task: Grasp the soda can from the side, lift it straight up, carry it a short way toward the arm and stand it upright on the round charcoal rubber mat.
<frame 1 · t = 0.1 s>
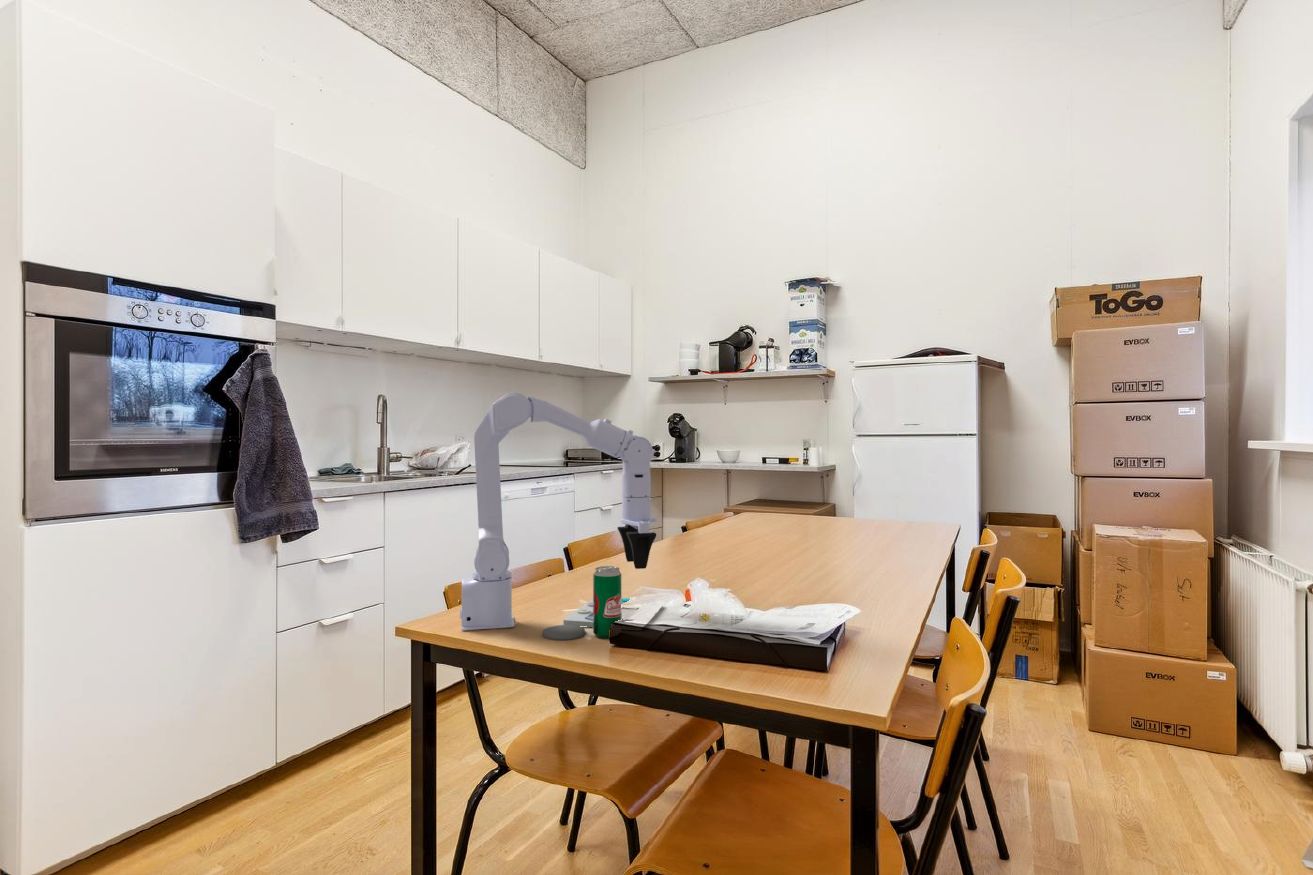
hand: (636, 564, 136), 10 cm above the table, tool pointing down, fingers open, 7 cm apart
soda can: (607, 636, 123), on the table
rubber mat: (563, 633, 124), on the table
electronic device: (615, 620, 136), on the table
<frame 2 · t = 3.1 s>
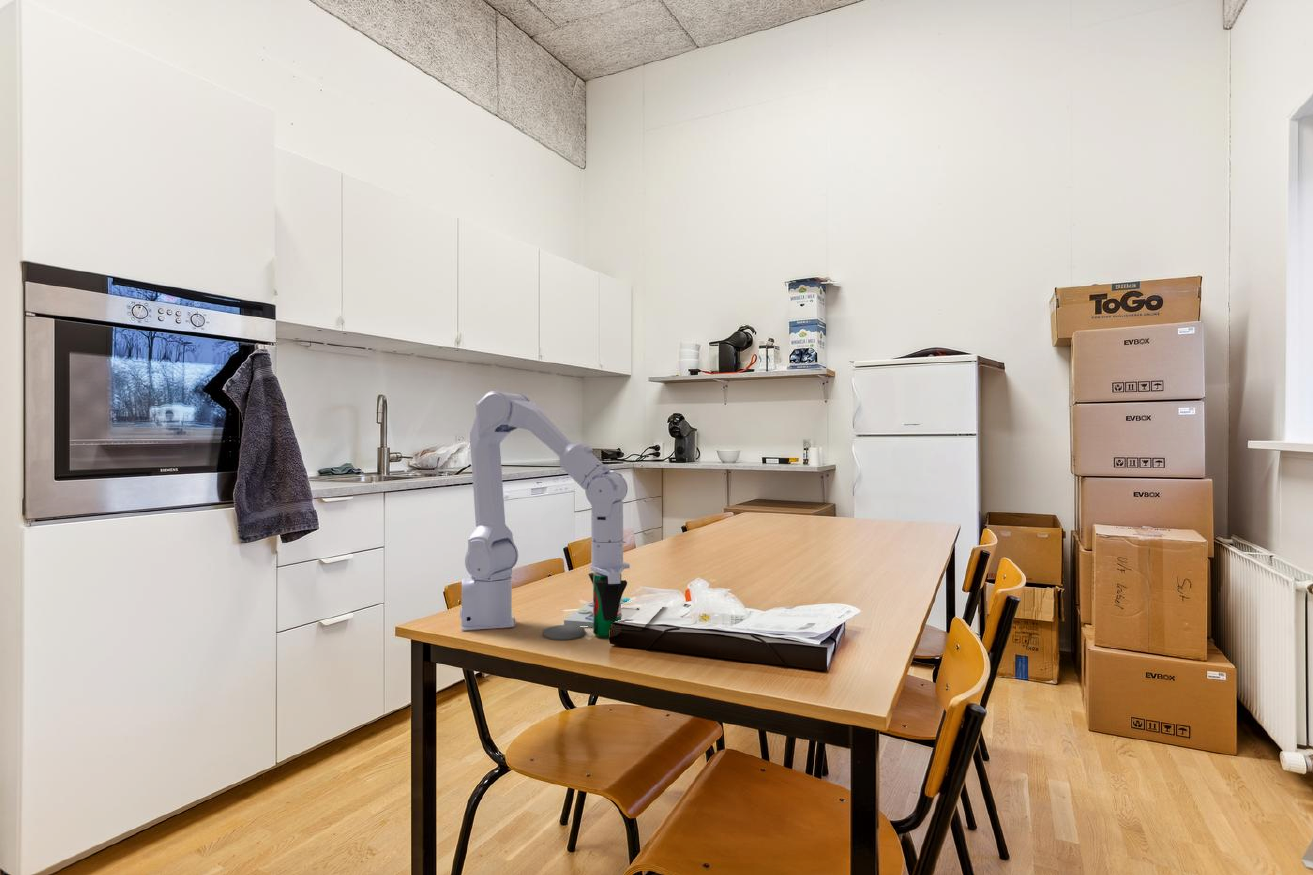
hand: (607, 616, 123), 3 cm above the table, tool pointing down, fingers closed on soda can, 5 cm apart
soda can: (607, 636, 123), on the table, touching gripper
everything else where it was.
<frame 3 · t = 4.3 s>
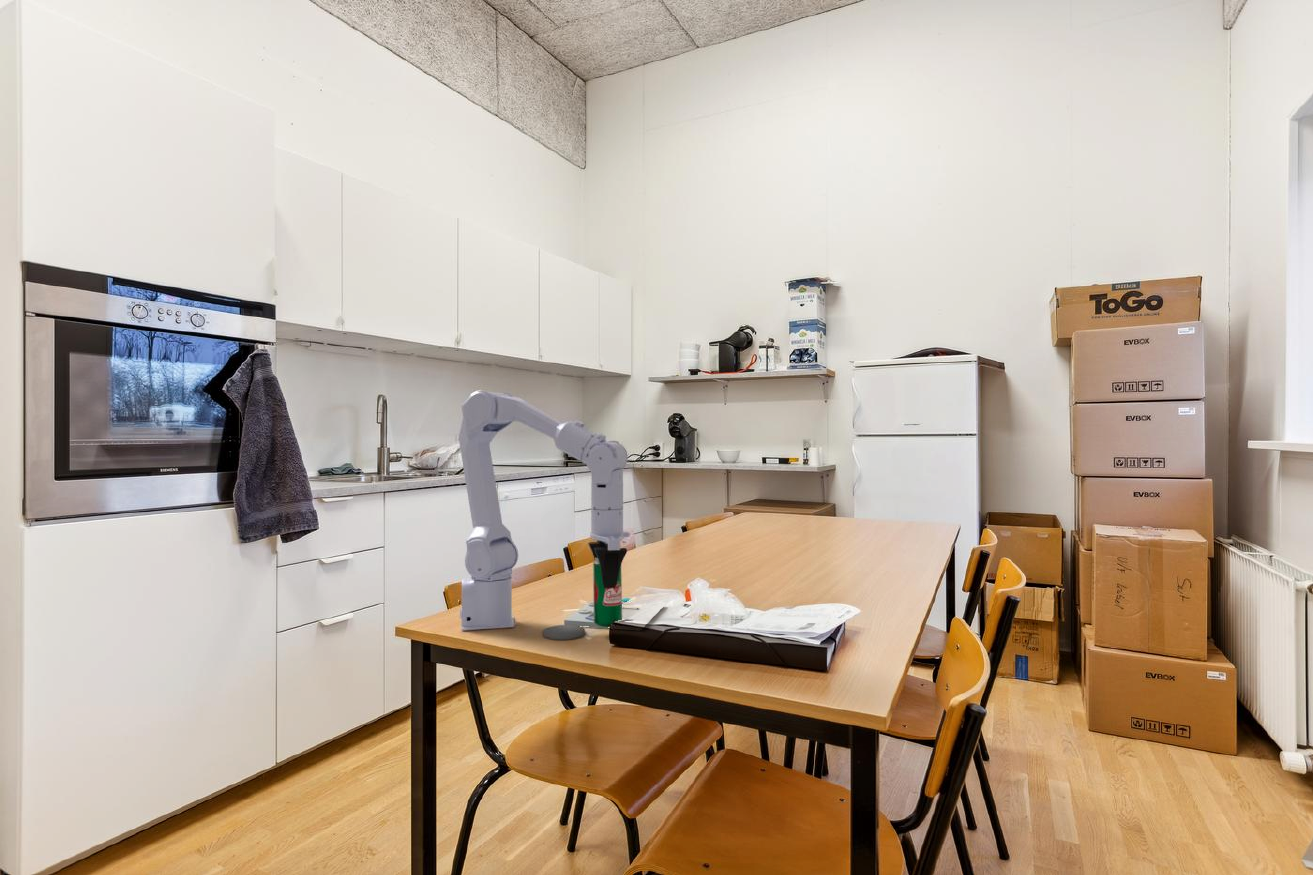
hand: (607, 584, 123), 9 cm above the table, tool pointing down, fingers closed on soda can, 5 cm apart
soda can: (608, 625, 123), point 2 cm above the table, touching gripper
everything else where it was.
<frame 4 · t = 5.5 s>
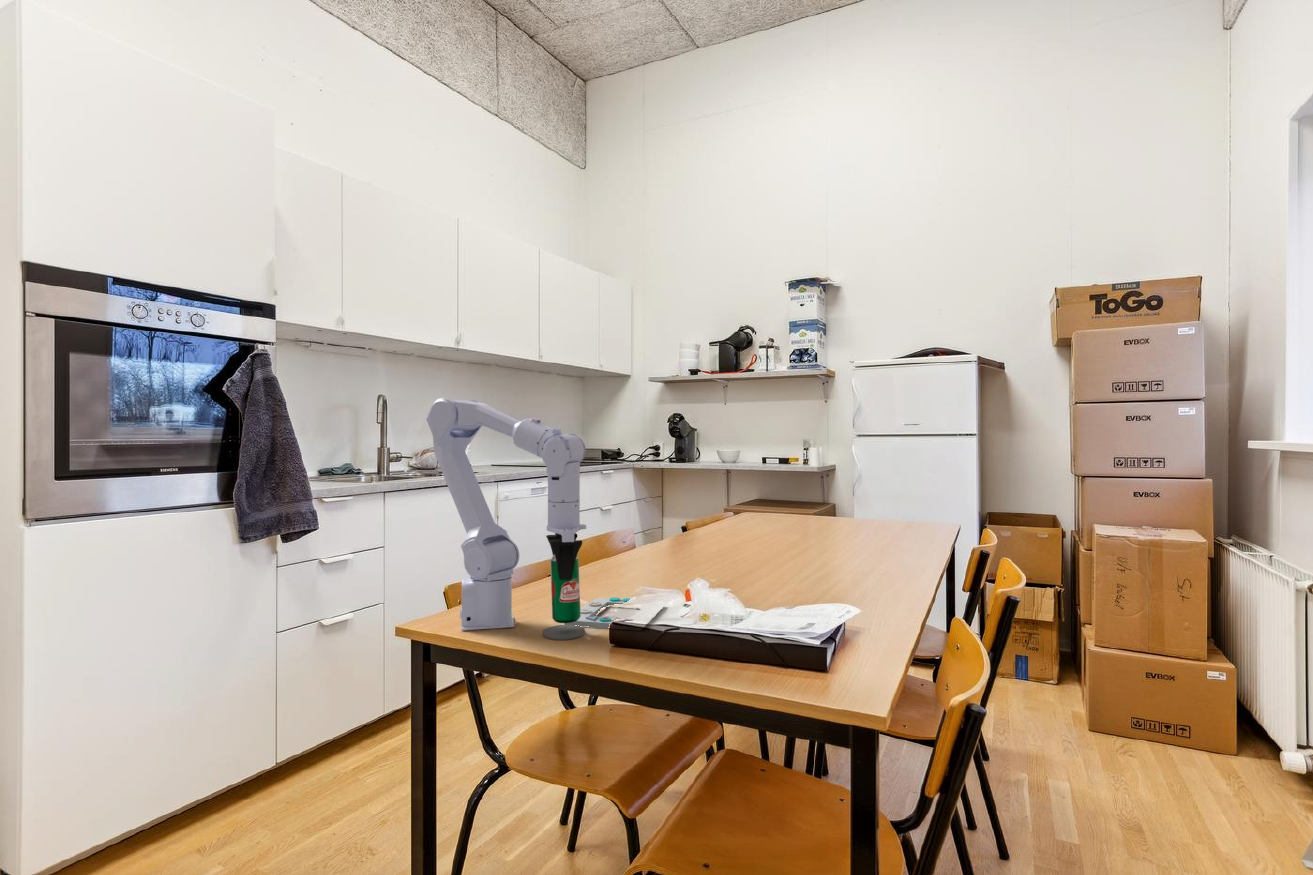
hand: (563, 576, 124), 10 cm above the table, tool pointing down, fingers closed on soda can, 5 cm apart
soda can: (566, 621, 124), point 2 cm above the table, touching gripper
everything else where it was.
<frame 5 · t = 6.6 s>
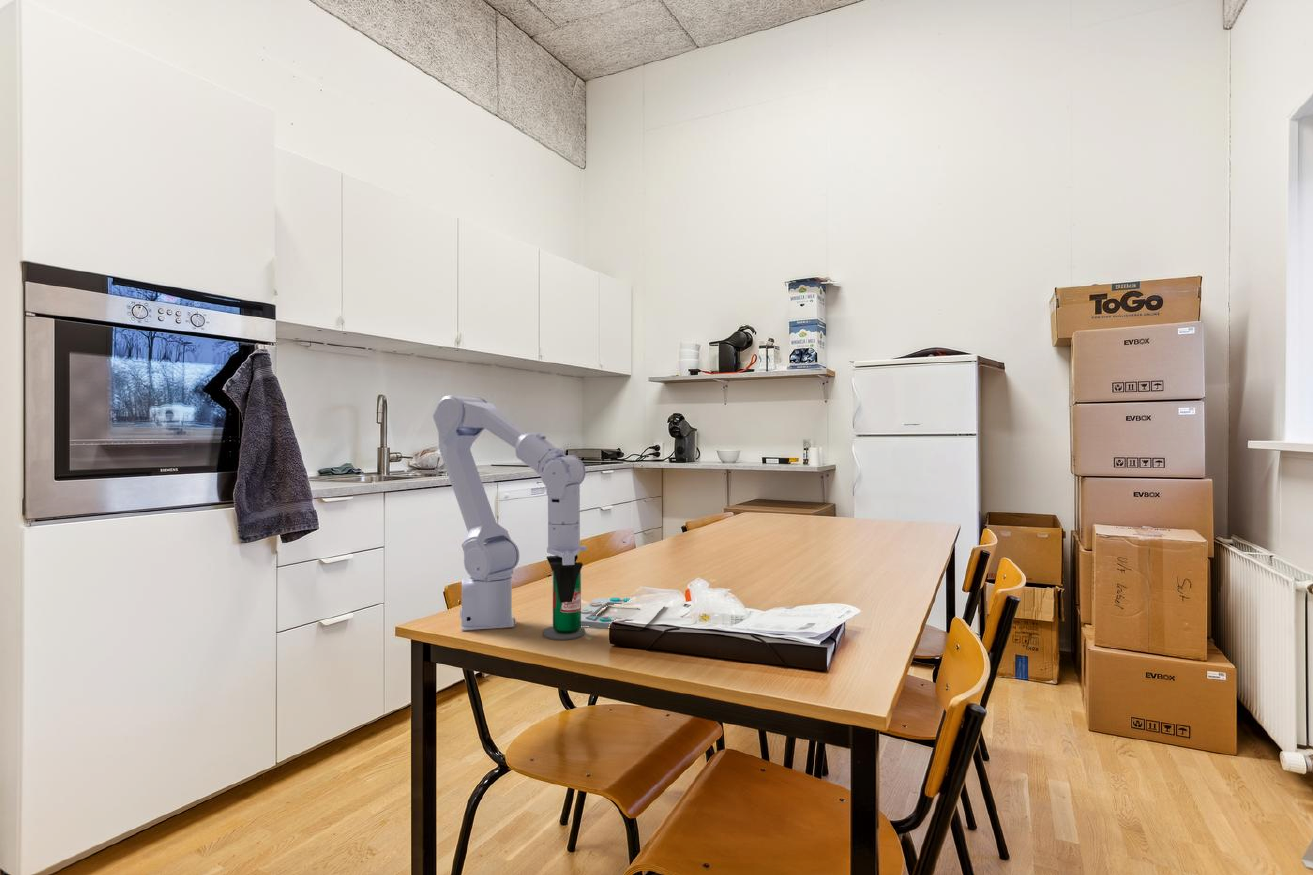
hand: (564, 598, 124), 6 cm above the table, tool pointing down, fingers closed on soda can, 5 cm apart
soda can: (566, 631, 123), on the table, touching gripper, rubber mat
everything else where it was.
when the fingers open (6 cm above the table, at t = 7.4 s): soda can stays where it is, resting on rubber mat.
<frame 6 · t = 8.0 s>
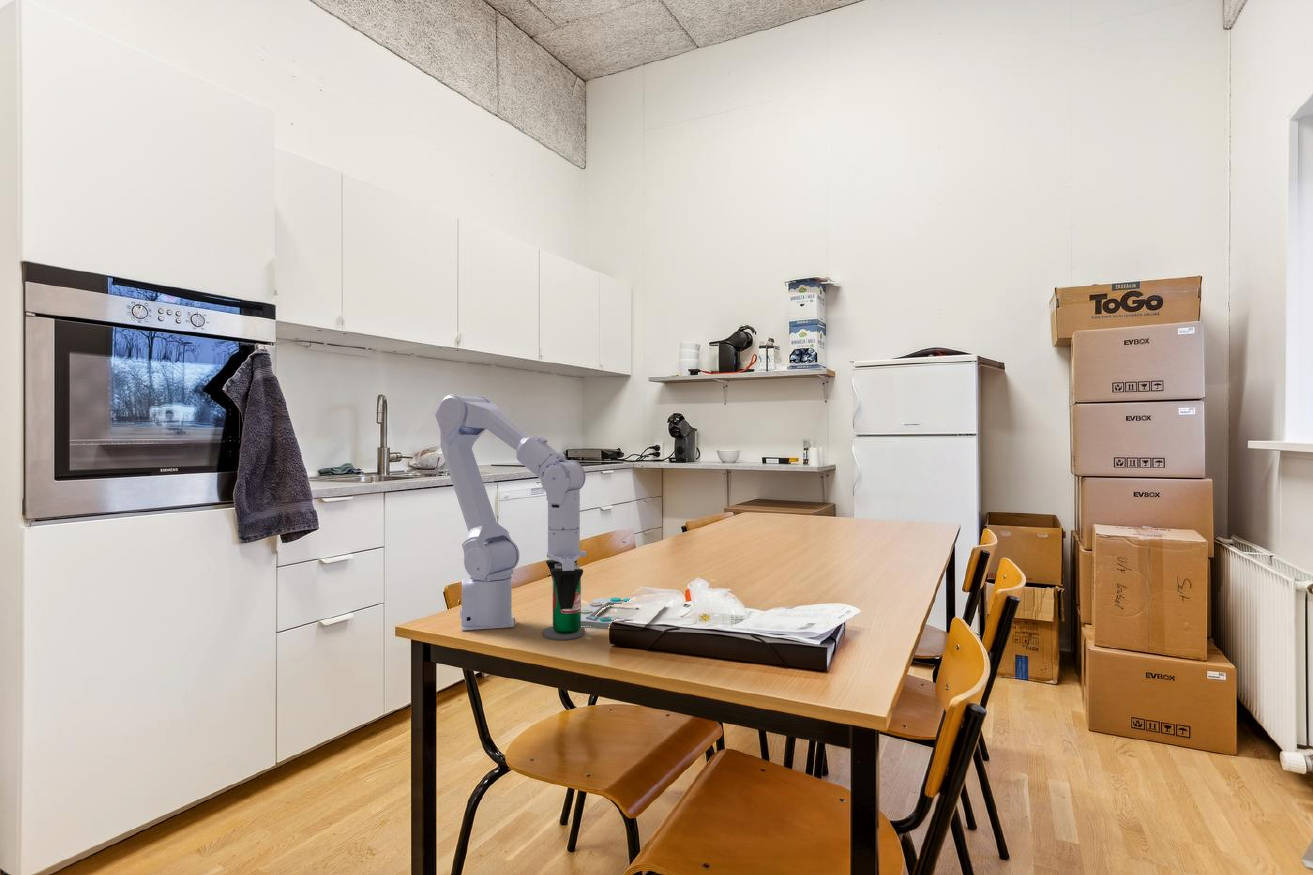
hand: (563, 603, 124), 6 cm above the table, tool pointing down, fingers open, 7 cm apart
soda can: (566, 631, 124), resting on rubber mat
everything else where it was.
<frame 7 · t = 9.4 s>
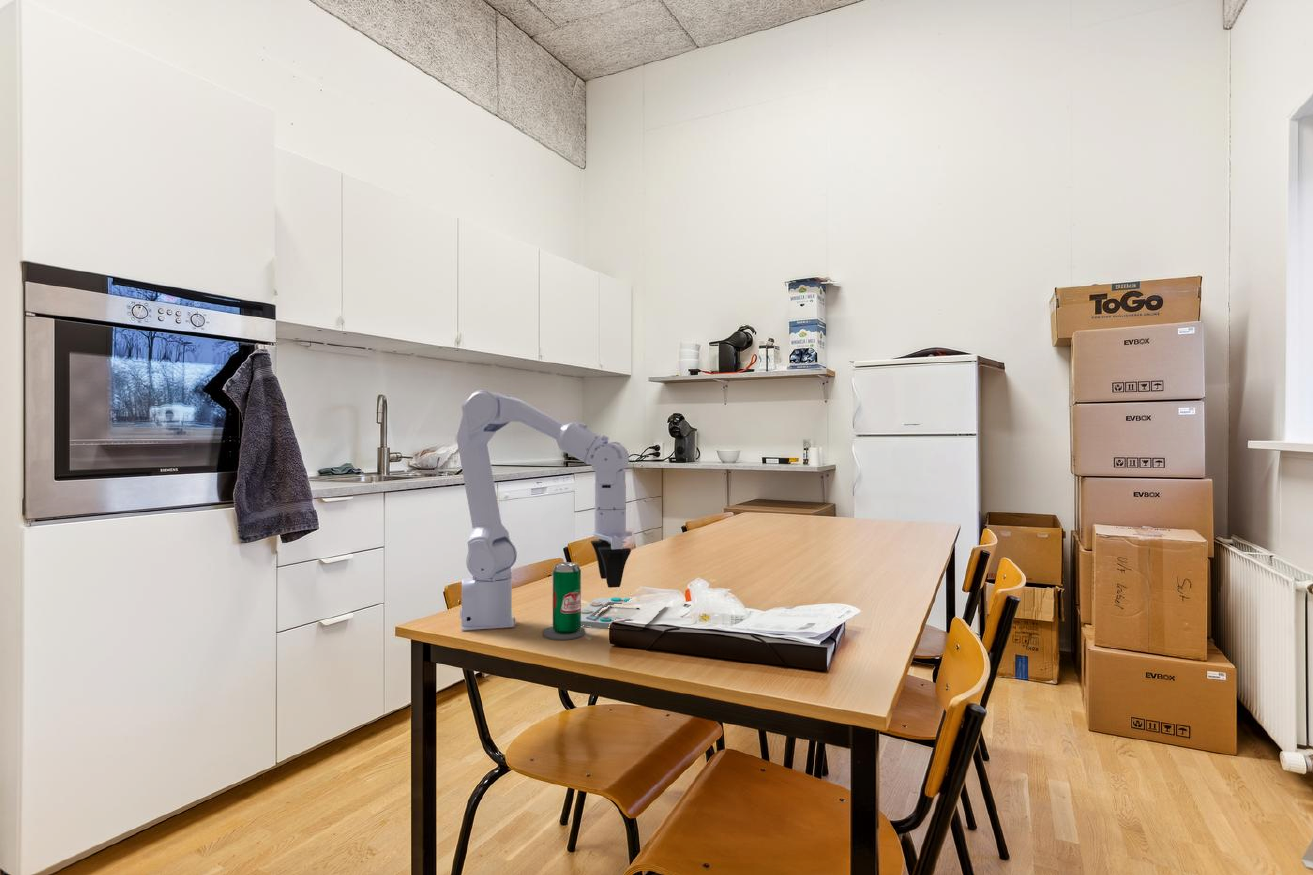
hand: (610, 582, 126), 9 cm above the table, tool pointing down, fingers open, 7 cm apart
nothing on the table moved.
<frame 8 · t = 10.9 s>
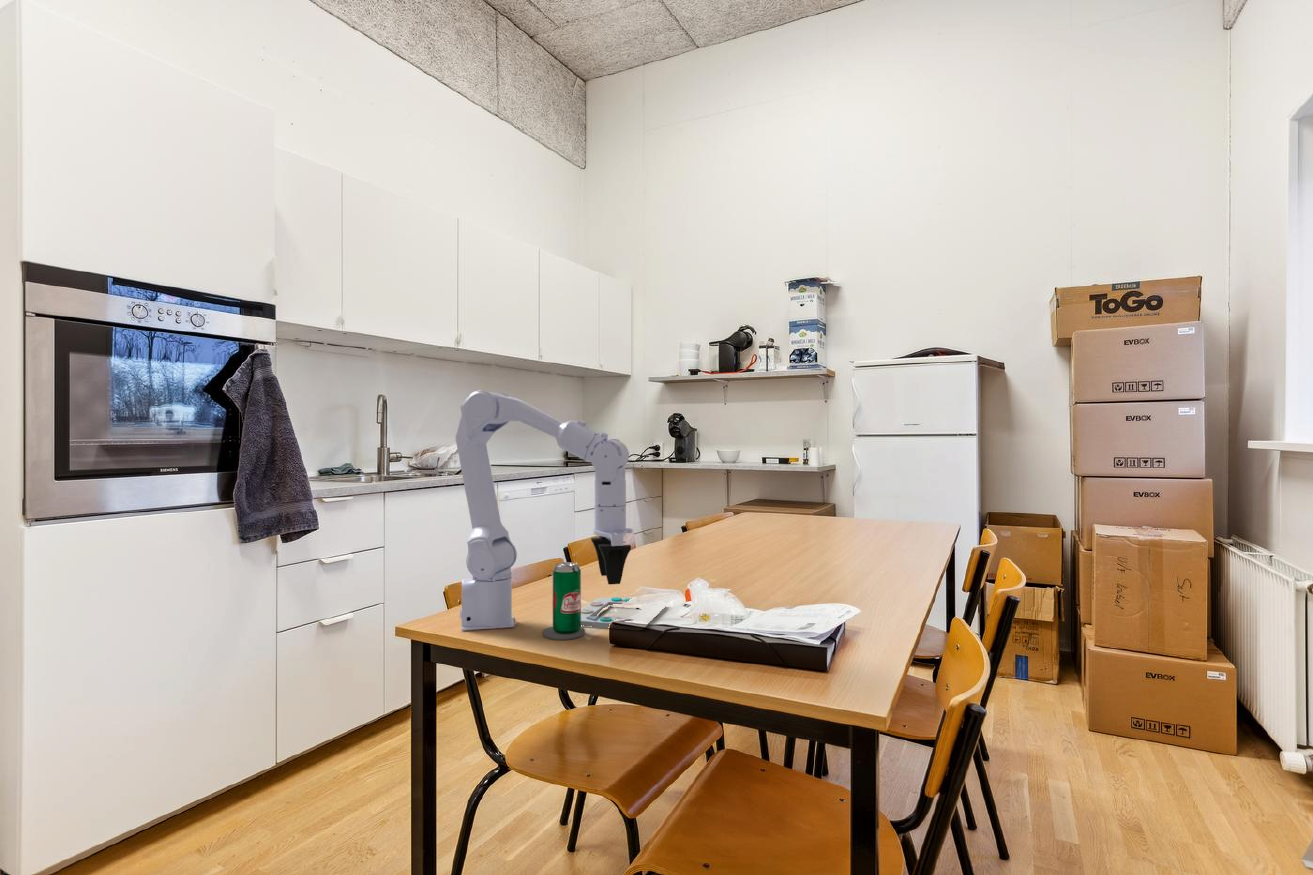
hand: (610, 579, 126), 9 cm above the table, tool pointing down, fingers open, 7 cm apart
nothing on the table moved.
at the end: soda can 0.5 cm off-centre on the rubber mat, point 0.4 cm above the rubber mat's base; soda can tilted 0°; the gripper is holding nothing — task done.
